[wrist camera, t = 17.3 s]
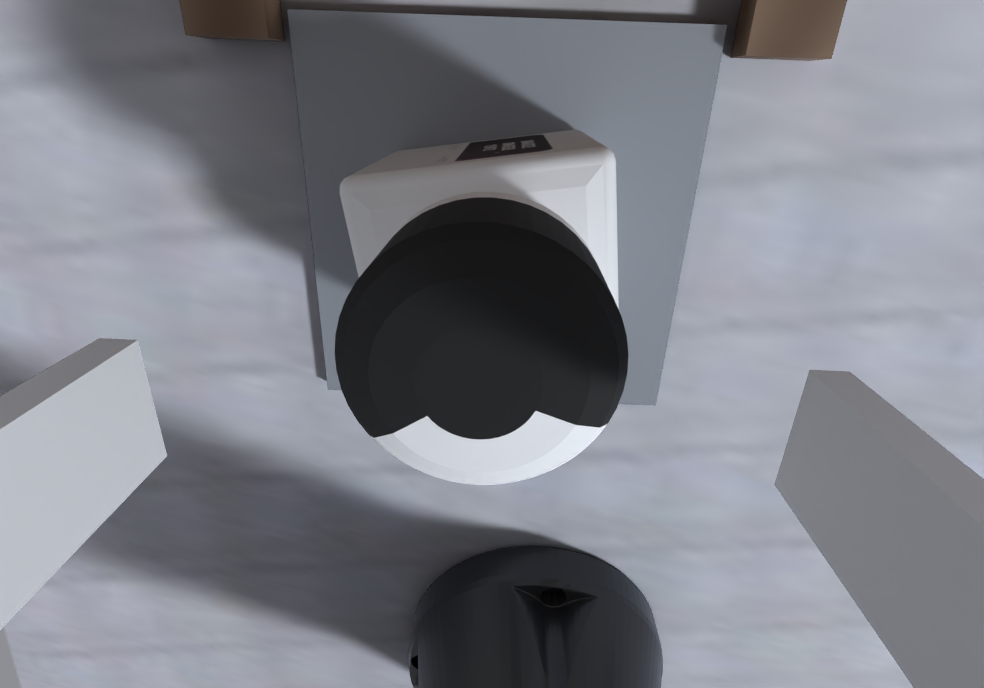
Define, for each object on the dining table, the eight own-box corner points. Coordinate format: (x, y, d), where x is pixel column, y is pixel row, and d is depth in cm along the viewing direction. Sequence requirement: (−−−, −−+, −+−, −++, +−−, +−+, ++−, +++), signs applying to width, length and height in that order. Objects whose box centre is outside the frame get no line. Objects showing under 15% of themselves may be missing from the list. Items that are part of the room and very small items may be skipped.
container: (390, 150, 22) (246, 221, 10) (583, 127, 21) (670, 174, 10) (422, 326, 25) (341, 535, 13) (591, 311, 24) (663, 516, 13)
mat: (331, 383, 27) (327, 389, 27) (293, 11, 20) (287, 9, 20) (652, 398, 27) (655, 405, 26) (721, 26, 20) (727, 24, 20)
